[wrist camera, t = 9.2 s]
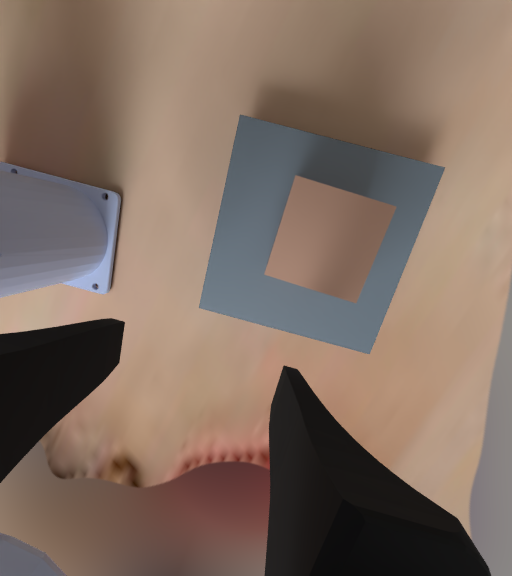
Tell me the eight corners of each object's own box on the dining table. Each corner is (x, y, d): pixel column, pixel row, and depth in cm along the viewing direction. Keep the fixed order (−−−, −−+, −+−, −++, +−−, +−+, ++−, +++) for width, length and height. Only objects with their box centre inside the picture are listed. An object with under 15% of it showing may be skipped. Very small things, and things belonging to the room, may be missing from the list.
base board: (210, 296, 20) (198, 307, 17) (246, 134, 17) (240, 114, 14) (355, 336, 20) (369, 354, 17) (416, 178, 17) (445, 167, 14)
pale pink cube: (267, 262, 16) (264, 274, 12) (289, 191, 15) (295, 175, 11) (334, 283, 16) (356, 303, 12) (361, 213, 15) (396, 206, 11)
